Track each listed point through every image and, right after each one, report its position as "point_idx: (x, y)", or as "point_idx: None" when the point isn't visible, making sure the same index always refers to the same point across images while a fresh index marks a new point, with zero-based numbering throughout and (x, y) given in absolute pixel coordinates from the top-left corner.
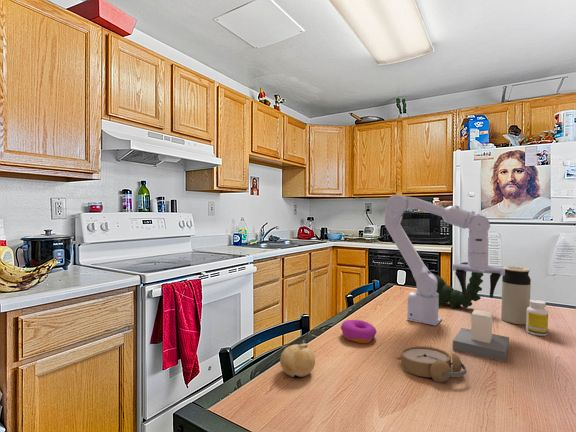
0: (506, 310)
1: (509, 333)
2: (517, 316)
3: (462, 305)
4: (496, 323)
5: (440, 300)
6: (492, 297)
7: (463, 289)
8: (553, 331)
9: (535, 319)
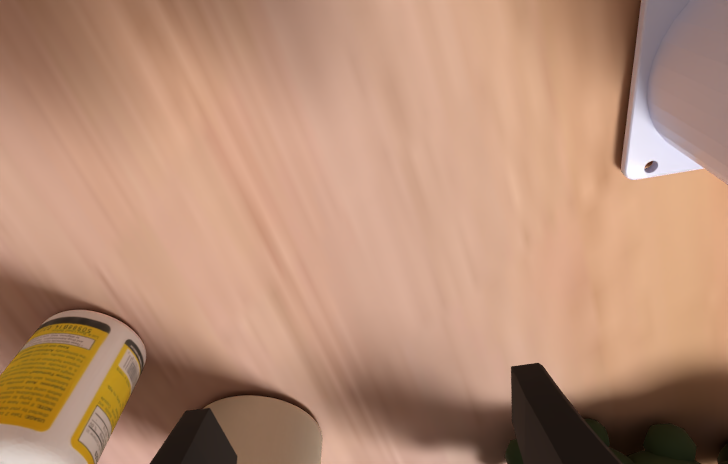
0: (267, 460)
1: (172, 239)
2: None
3: None
4: (306, 348)
5: (682, 444)
6: (182, 416)
7: (551, 412)
8: None
9: (15, 387)
